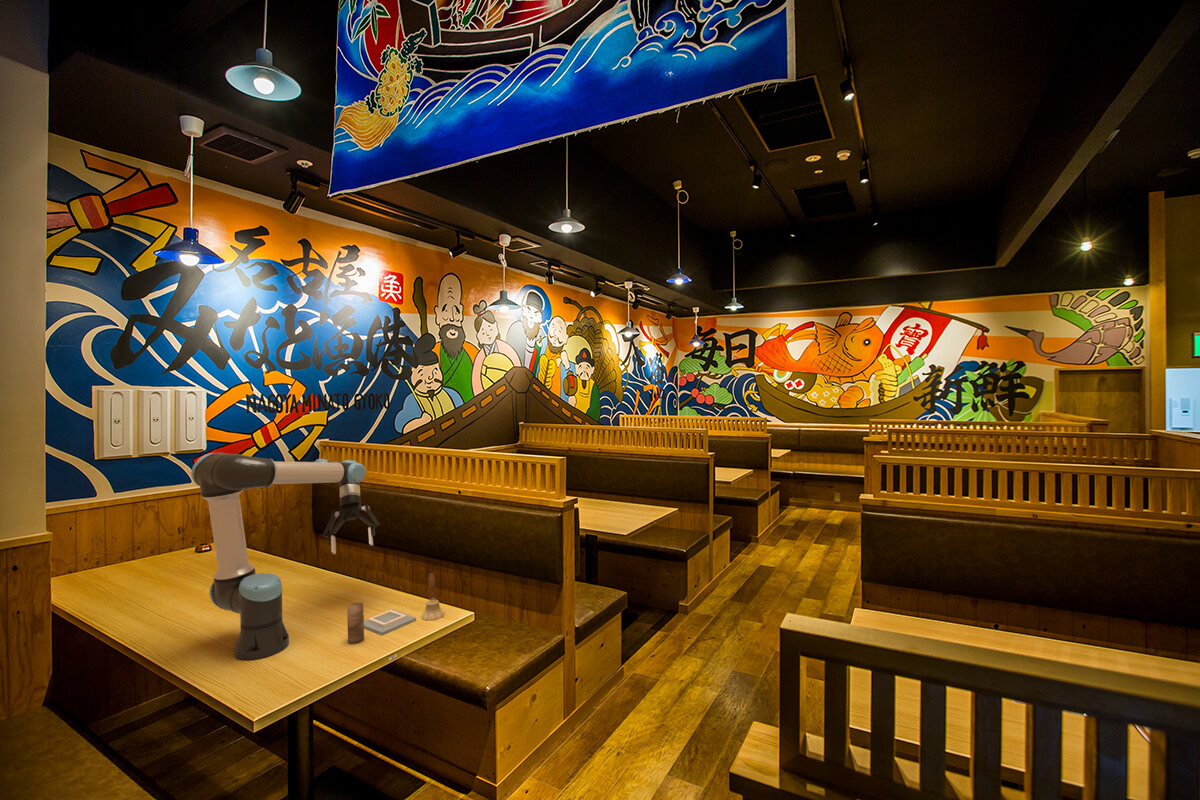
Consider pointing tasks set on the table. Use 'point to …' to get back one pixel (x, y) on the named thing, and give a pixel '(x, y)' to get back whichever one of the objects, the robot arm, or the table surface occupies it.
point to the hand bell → (432, 603)
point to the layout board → (388, 621)
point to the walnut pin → (355, 623)
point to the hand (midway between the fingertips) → (352, 548)
